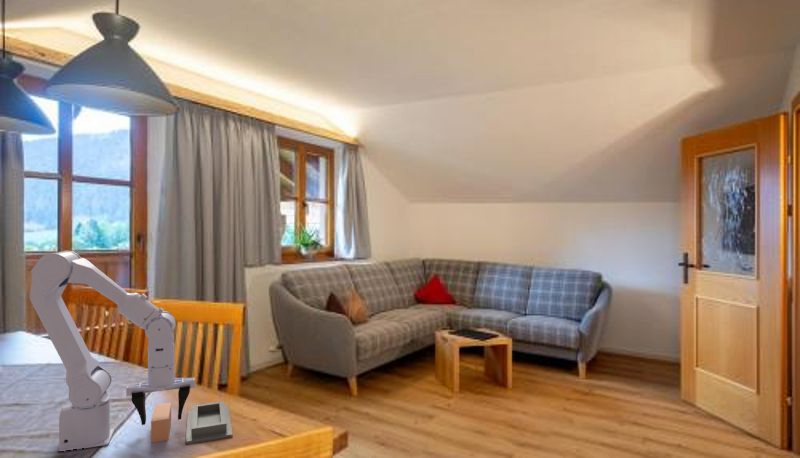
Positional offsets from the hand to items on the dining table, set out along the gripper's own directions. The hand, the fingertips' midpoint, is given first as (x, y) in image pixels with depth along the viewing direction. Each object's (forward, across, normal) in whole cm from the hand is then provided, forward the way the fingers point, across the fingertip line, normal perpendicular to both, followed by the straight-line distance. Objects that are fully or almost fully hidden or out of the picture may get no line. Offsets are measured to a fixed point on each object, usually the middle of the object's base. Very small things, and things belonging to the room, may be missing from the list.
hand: (162, 420), depth 113 cm
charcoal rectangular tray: (+3, +10, 0) cm, 11 cm away
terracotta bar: (+3, 0, 0) cm, 3 cm away
